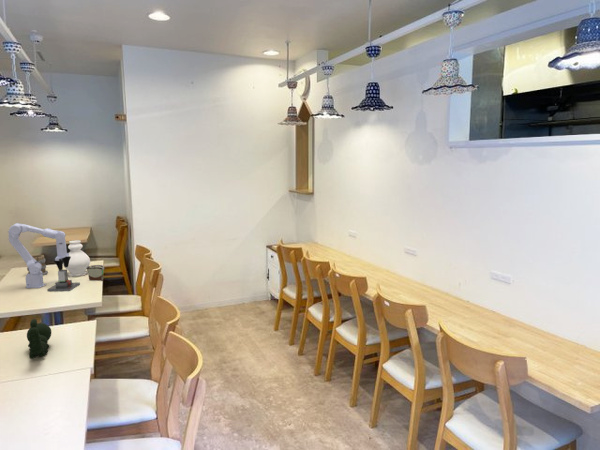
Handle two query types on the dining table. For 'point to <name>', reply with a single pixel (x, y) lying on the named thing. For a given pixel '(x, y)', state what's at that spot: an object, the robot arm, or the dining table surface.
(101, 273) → the food container
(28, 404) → the dining table surface
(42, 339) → the dark green bumpy clump
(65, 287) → the base
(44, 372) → the dining table surface
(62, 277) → the block
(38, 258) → the tankard
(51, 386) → the dining table surface
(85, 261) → the decorative vase
